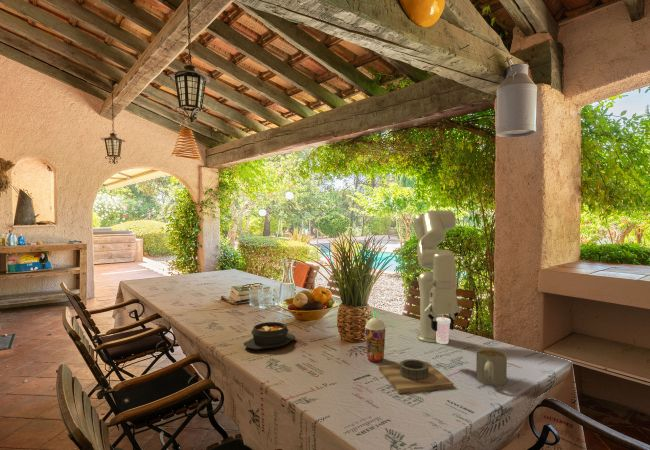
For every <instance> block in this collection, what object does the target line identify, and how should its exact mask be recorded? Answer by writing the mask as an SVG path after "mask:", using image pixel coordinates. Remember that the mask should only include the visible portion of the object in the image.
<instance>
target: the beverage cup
mask: <svg viewBox="0 0 650 450" xmlns="http://www.w3.org/2000/svg"><path fill="white" fill-rule="evenodd" d="M448 318H449V317H445V316H444V315H441V317H438V318H437V319H436V321H437V331H436V342H435V343H437V344H441V345H447V344H449V340H450V329H449V328H450V323H451V320H450V319H448Z"/></svg>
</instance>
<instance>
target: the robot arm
mask: <svg viewBox="0 0 650 450" xmlns="http://www.w3.org/2000/svg"><path fill="white" fill-rule="evenodd" d="M456 225H457V219H456V215H455V213H454V212H453V211H452V210H430V211H427V212H424V213H419V214H416V215H415V216H414V218H413V227H414V232H415V235H416V238H417V240H418V243H417V246H416V254H417V261H418V265H419V266H420V268H422V269H424V270H428V271H425V272H421V273H420V274H419V275H418V282H417V283H418V287H419V288H418V289H419V298H420V299H419V300H420V301H419V304H420V305H419V310H420V311H419V313H420V314H419V316H420V317H419V319H420V321H419V322H420V323H419V325H420V326H419V328H418V329H419V330H420V331H419V332H418V333H417V334H416V338H417V339H418V340H419V341H421V342H426V343H437V342H436V331H437V321H436V319H437V318H438V317H442V315H443V316H444V315H448V317H447V318H448V319H450V320H451V323H450V328H449V330H451V331H453V330H454V327H455V320H456V319H457V316H459V314H460V313H461V311H463V310H462V308H461V307H460V306H459V305H458V298H457V296H458V295H457V292H456V291H457V287H458V278H457V270H456V269H457V267H456V259H455V254H454V253H453V252H452V251H451V250H449V249H439V248H438V244H441V243H442V242H443V241H444V240H445V238H446V231H447V232H448V231H452V230H453V229H454V228H455V226H456Z"/></svg>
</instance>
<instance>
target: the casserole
mask: <svg viewBox="0 0 650 450" xmlns="http://www.w3.org/2000/svg"><path fill="white" fill-rule="evenodd" d="M250 333H251V335H252V338H250V339H249V340H247V341H245V342H244V343H243V346H244V347H246V348H248V349H252V350H263V349H275V348H279V347H283V346H286V345H288V344H289V343H290V342H291V341H293V340H295V339H296V336H295V335H294V334H292V333H290V332H289V328H288V327H287V324H285V323H283V322H277V321H275V322H273V321H269V322H262V323H257V324H255V325H254V326H253V328H252V329H251V332H250Z"/></svg>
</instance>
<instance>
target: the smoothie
mask: <svg viewBox="0 0 650 450" xmlns="http://www.w3.org/2000/svg"><path fill="white" fill-rule="evenodd" d="M364 328H365V329H364V330H365V344H366V346H365V347H366V357H367V358H368V361H369V362H372V363H380V362H383V360H384V357H385V342H386V329H387V326H386V325H385V323H384V321H383V320H382V319H381V318H379V317H377V310H375V311H374V316H373V317H372V318H369V319H368V321H367V322H366V324H365V326H364Z"/></svg>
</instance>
